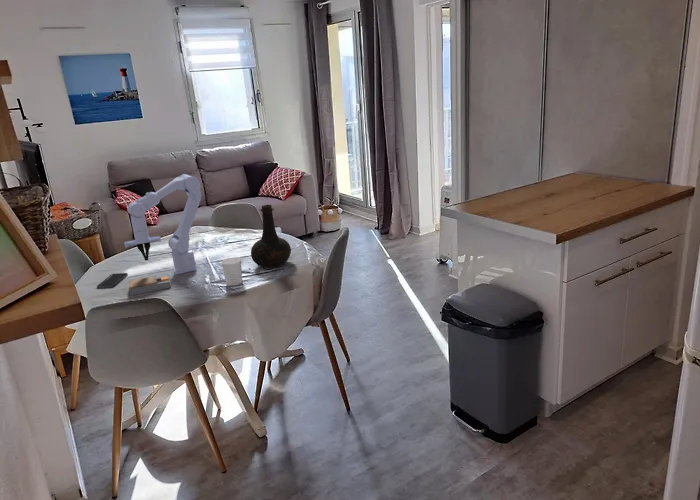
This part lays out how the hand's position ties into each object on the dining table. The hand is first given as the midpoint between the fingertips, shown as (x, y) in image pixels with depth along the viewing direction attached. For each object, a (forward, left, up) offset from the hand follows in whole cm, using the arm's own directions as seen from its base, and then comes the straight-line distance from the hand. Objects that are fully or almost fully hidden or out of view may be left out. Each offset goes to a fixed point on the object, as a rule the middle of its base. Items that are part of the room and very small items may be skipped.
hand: (146, 259), depth 221 cm
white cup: (-32, +24, -10) cm, 42 cm away
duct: (+1, +10, -10) cm, 14 cm away
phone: (+16, -8, -10) cm, 20 cm away
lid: (+3, +10, -7) cm, 13 cm away
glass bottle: (-52, +12, -10) cm, 55 cm away
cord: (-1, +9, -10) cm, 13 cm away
